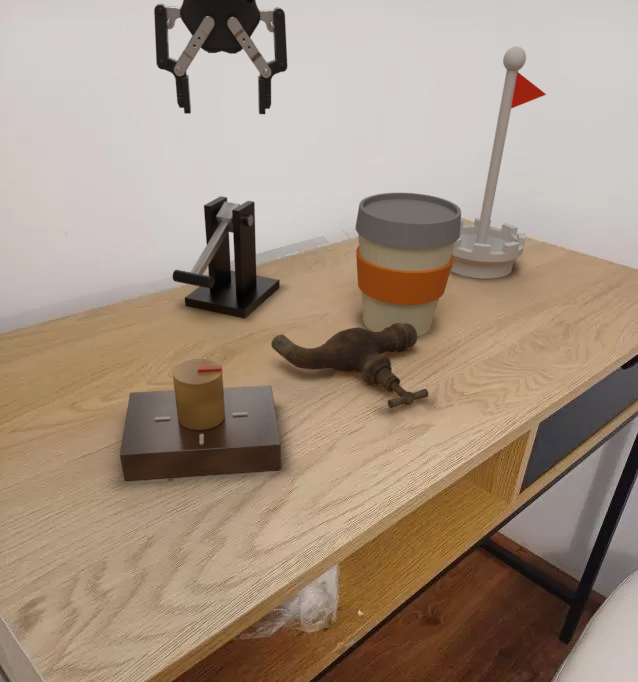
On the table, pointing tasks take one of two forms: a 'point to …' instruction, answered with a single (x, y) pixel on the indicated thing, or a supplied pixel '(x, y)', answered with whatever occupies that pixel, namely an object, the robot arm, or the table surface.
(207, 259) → the lever with black grip
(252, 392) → the panel
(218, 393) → the tap knob
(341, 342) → the faucet
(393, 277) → the reusable coffee cup
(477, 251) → the flag stand
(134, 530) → the table surface
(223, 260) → the black upright frame
